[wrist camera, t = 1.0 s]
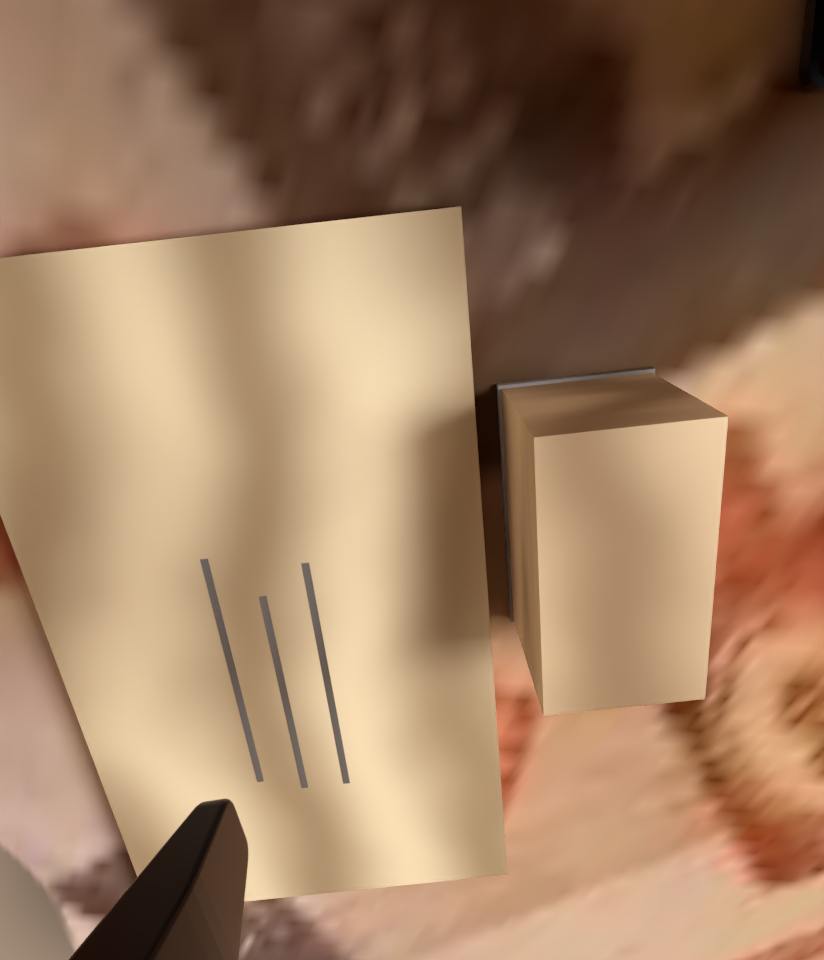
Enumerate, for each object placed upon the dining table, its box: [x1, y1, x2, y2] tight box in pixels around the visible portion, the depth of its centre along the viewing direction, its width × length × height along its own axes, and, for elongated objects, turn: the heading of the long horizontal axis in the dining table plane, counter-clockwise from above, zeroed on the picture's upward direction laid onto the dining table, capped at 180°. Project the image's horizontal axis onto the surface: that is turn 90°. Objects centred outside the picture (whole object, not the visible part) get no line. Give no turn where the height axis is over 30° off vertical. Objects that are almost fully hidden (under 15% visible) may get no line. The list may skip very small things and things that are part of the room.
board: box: [0, 206, 507, 901], centre depth 21 cm, size 14×24×1 cm, turn 6°
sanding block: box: [496, 367, 728, 716], centre depth 18 cm, size 5×8×5 cm, turn 6°
